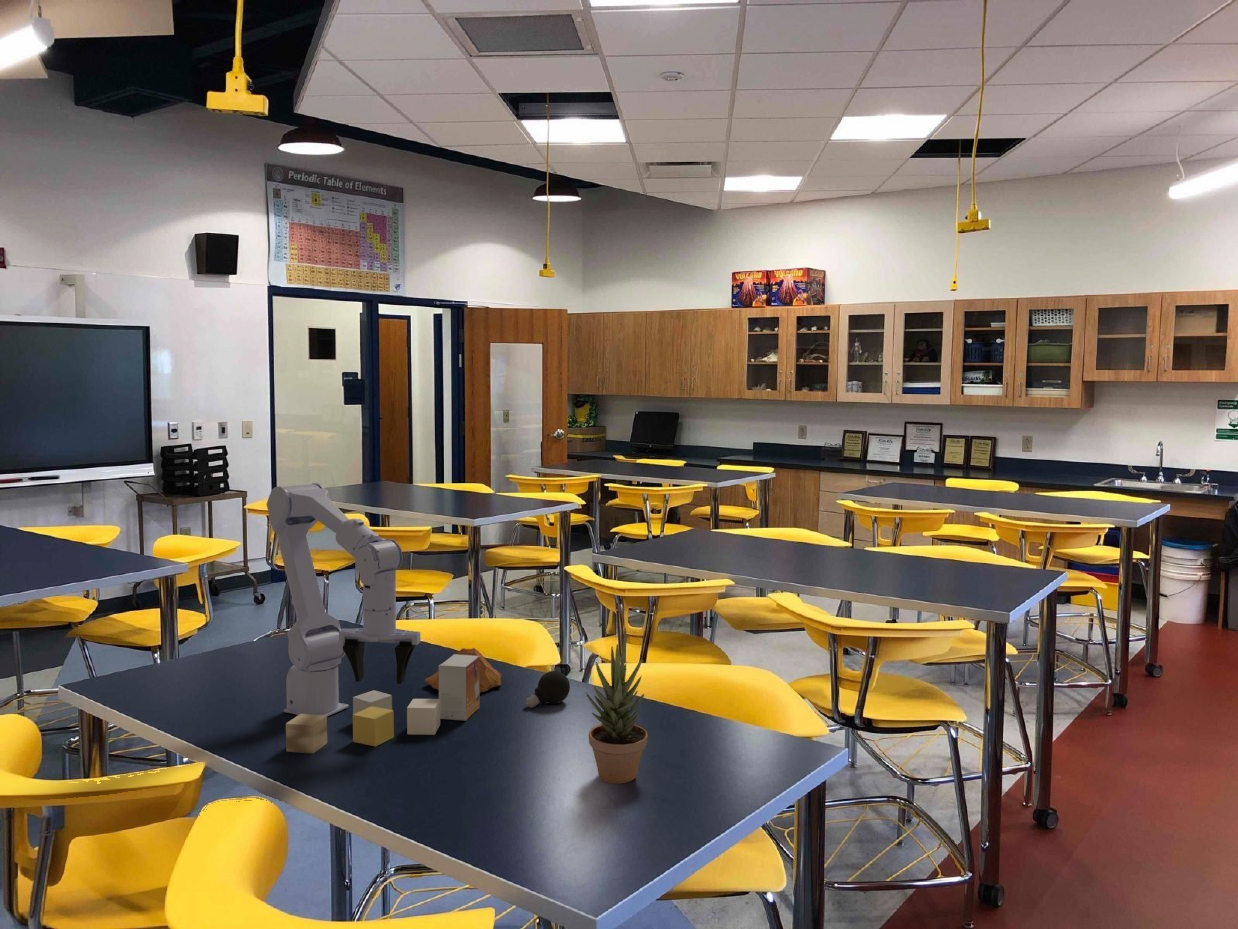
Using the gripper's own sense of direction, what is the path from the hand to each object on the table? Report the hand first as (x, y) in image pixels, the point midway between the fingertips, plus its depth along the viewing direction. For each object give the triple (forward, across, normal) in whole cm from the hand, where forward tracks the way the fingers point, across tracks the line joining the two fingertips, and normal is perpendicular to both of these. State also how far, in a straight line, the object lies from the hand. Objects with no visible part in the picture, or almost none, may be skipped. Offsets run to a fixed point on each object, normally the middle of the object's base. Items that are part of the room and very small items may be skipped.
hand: (380, 681), depth 173 cm
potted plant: (+9, +45, -15) cm, 48 cm away
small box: (+10, +12, +11) cm, 19 cm away
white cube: (+10, +8, +2) cm, 12 cm away
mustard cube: (+10, 0, -4) cm, 10 cm away
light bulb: (+10, +28, +18) cm, 35 cm away
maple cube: (+10, -10, -8) cm, 16 cm away
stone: (+10, +9, +28) cm, 31 cm away
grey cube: (+10, -3, +5) cm, 11 cm away
